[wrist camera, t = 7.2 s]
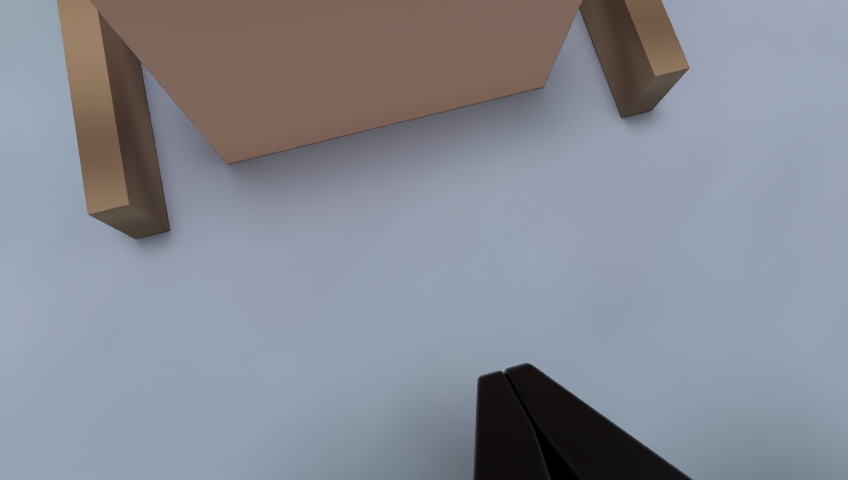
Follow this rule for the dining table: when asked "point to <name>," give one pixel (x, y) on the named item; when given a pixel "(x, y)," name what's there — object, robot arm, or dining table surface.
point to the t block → (334, 61)
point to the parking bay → (131, 127)
